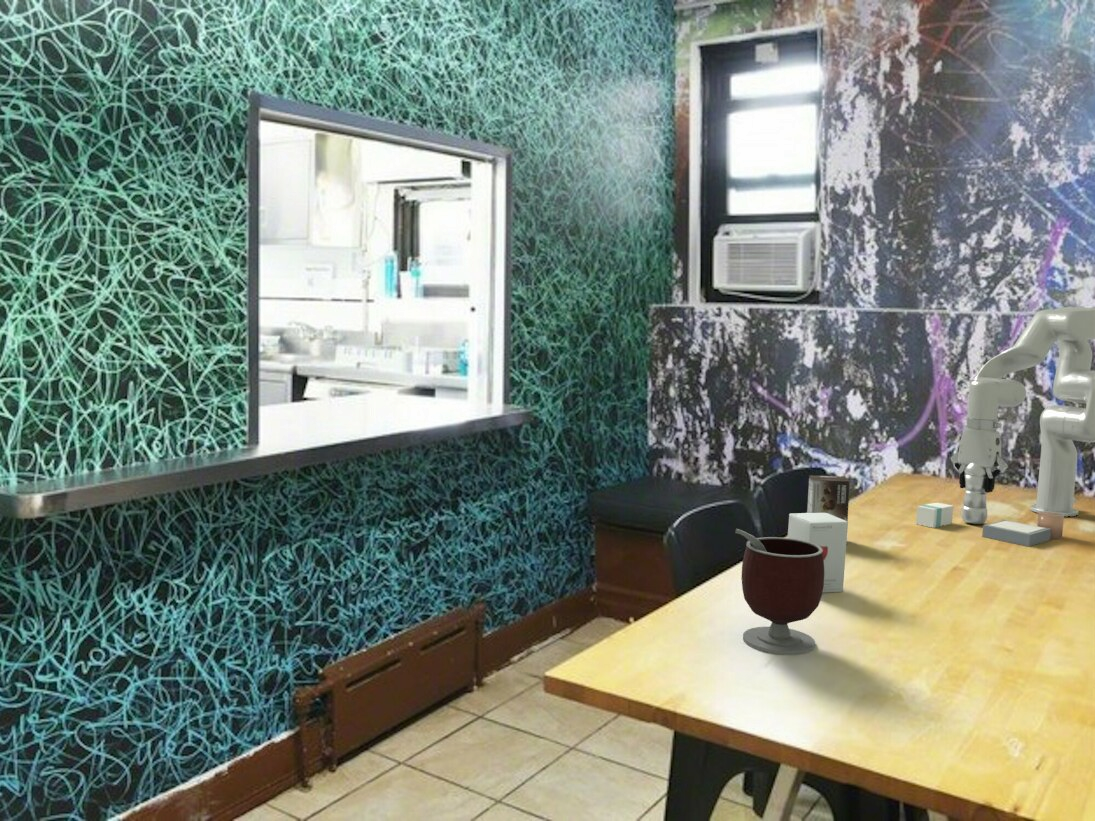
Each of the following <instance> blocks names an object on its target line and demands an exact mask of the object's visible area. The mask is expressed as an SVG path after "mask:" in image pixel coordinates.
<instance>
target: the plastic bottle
mask: <svg viewBox="0 0 1095 821" xmlns="http://www.w3.org/2000/svg"><path fill="white" fill-rule="evenodd" d="M964 473H965V488H964V489H965V492H964V499H963V505H962V508H961V512H960V515H961V519H962V521H963V522H965V523H968V524H971V525H982V524H984V523H986V522H987V519H988V508H987V494H988V493H986V492H985V483H986V478H988V475H987V472H986V469H985V468H984V467H981V466H979V465H977V464H975V463H971V464H968V465H967V466H966V467H965V470H964Z"/></svg>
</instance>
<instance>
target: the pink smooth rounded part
mask: <svg viewBox="0 0 1095 821" xmlns="http://www.w3.org/2000/svg"><path fill="white" fill-rule="evenodd" d="M1037 514H1038V515H1037V523H1036V526H1039V527H1045V528H1050V529H1051V537H1050V540H1055V539H1058V540H1062V539H1063V529H1064V520H1065V516H1064V515H1062V514H1059V513H1053V512H1039V513H1037Z"/></svg>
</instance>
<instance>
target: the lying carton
mask: <svg viewBox="0 0 1095 821" xmlns="http://www.w3.org/2000/svg"><path fill="white" fill-rule="evenodd" d="M916 507H917V508H916V516H915V519H916V520H915V525H917V524H918V525H917V526H922V525H923V527H926V528H931V527H932V528H931V529H935V528H940V527H943V526H942V525H944V526H948V525H952V524H953V519H954V518H953V515H954V505H951V504H946V503H942V502H933V503H926V504H921V505H920V504H919V505H917V506H916ZM951 523H952V524H951ZM947 524H948V525H947ZM939 526H940V527H939Z"/></svg>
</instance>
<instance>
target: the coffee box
mask: <svg viewBox="0 0 1095 821" xmlns="http://www.w3.org/2000/svg"><path fill="white" fill-rule="evenodd" d="M850 483H851V482H850V479H848V477H846V476H839V475H814V474H813V475H812V474H811V475H809V476H808V492H807V510H806V513H828V514H831V515H833V516H835V517H838V518H840V519H843V520H845V521H847V522H848V523H849V521H848V520H849V518H848V517H849V504H850V503H849V502H850V500H849V499H850ZM847 543H848V542H846V544H847Z"/></svg>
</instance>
